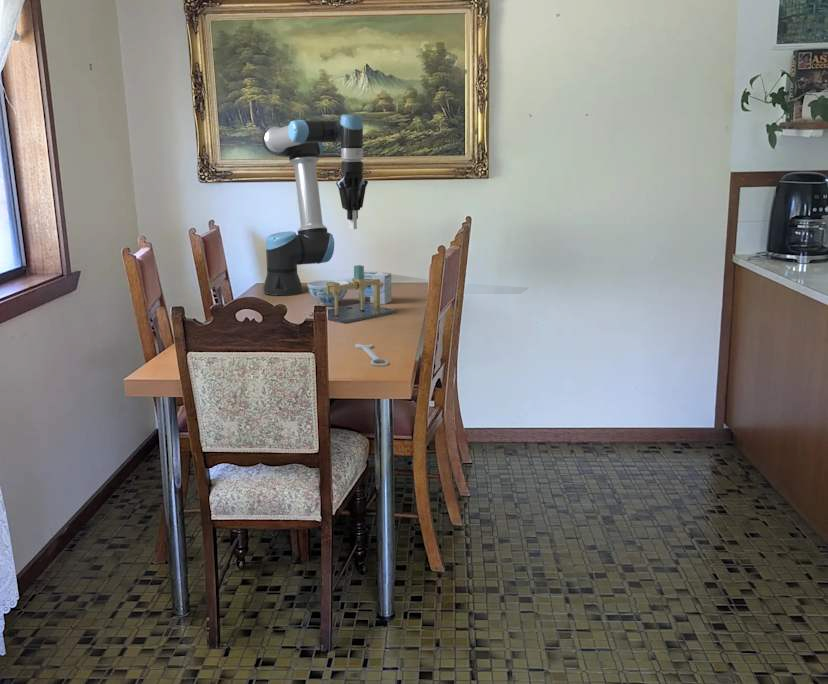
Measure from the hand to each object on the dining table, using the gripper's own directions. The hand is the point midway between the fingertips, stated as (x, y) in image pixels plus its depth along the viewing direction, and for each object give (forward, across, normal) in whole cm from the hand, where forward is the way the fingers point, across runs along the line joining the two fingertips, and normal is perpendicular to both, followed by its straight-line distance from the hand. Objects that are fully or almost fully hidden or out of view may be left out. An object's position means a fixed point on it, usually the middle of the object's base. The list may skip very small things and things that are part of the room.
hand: (352, 228), depth 303 cm
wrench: (+27, -43, -57) cm, 77 cm away
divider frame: (+27, -9, -11) cm, 30 cm away
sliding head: (+26, -7, -11) cm, 29 cm away
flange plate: (+28, -10, -11) cm, 31 cm away
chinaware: (+28, -4, +9) cm, 30 cm away
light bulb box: (+28, +11, 0) cm, 30 cm away
